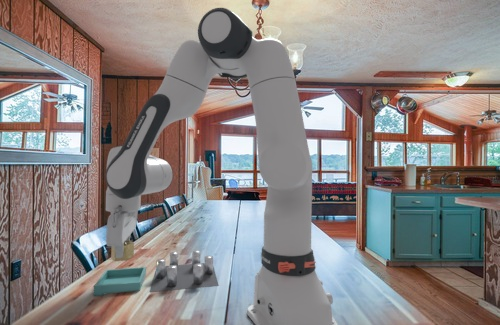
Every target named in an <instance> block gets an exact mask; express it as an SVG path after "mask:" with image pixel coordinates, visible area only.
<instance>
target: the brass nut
mask: <svg viewBox="0 0 500 325" xmlns="http://www.w3.org/2000/svg"><path fill="white" fill-rule="evenodd" d="M110 248H111V249H110V251H111V254H110V258H111V260H112V261H113V262H125V261H128V260H131V259H133V258H135V257H134V256H135V253H134V252H135V243H134V242H133V241H131V240H130V241H125V242H124V256H123V257H122V258H116V251H115V247H114V246H110Z"/></svg>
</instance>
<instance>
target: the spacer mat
mask: <svg viewBox="0 0 500 325" xmlns="http://www.w3.org/2000/svg"><path fill="white" fill-rule="evenodd" d="M200 263H201V262H200ZM201 264H203V283H202V284H200V285H194V284H193V268H192V263H191V264H189V263H188V264H178V269H177V286H175V287H167V267H168V266H169V265H165V278H163V279H156V270H155V271H154V275H153V278H152V281H151V284H150V285H151V286H150V288H149V293H154V292H166V291H177V290H178V291H179V290H188V289H196V288H197V289H199V288H200V289H201V288H209V287H218V286H220V285H219V282H218V278H217V275H216V271H215V268H214V266H213V274H212V275H205V274H204V262H203V263H201Z"/></svg>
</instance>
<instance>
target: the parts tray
mask: <svg viewBox="0 0 500 325" xmlns="http://www.w3.org/2000/svg"><path fill="white" fill-rule="evenodd" d="M146 275H147V267H146V266H141V267H140V266H139V267H128V268H115V269H106V270H105V271H104V272H103V273H102V275H101V276H100V277H99V279H98V280H97V281H96V283H95V284H94V285H93V297H99V296H100V297H101V296H104V295H106V294H108V295H109V294H118V293H128V292H139V291H141V289H142V287H143V283H144V281H145V278H146Z"/></svg>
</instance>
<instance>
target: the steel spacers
mask: <svg viewBox="0 0 500 325" xmlns="http://www.w3.org/2000/svg"><path fill="white" fill-rule="evenodd" d="M191 254H192V255H191V256H192V257H191V259H192V261H191V264H192V268H193V284H194V285H200V284H202V283H203V264H201V250H198V249H196V250H192V252H191ZM166 262H167V261H166V259H165V258H158V259H156V261H155V271H156V279H163V278H165V266H166ZM203 263H204V274H205V275H212V274H213V267H214V256H213V255H206V256H204V262H203ZM178 265H179V252H178V251H171V252H169V265H167V266H168V267H167V287H175V286H177V269H178Z"/></svg>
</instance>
